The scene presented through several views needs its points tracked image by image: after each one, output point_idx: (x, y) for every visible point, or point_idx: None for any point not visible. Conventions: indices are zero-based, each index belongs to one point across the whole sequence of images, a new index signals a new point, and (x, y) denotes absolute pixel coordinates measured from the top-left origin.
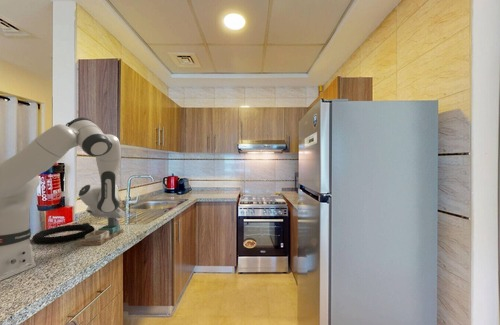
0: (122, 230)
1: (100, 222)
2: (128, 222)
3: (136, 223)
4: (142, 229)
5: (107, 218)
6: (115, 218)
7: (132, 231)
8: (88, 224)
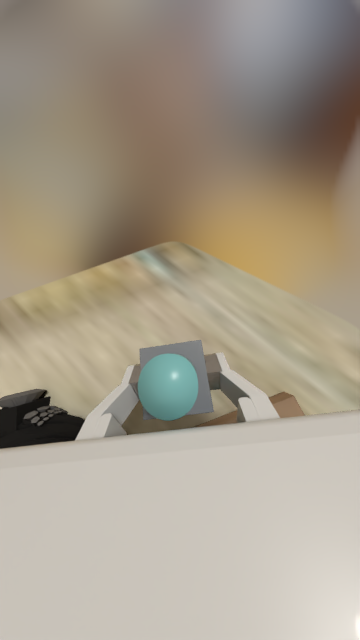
0: (296, 404)
1: (32, 299)
2: (153, 256)
3: (203, 255)
4: (335, 319)
5: (135, 403)
6: (212, 385)
7: (323, 367)
8: (31, 423)
